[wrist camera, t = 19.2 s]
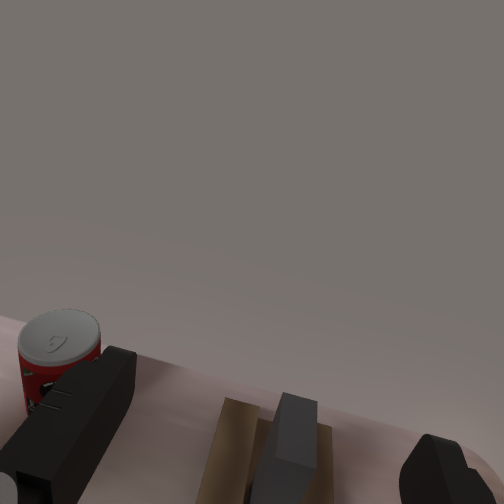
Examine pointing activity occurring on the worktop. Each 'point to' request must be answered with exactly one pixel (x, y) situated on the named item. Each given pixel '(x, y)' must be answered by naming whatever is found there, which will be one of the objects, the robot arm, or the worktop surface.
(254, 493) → the grey rectangular block
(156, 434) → the worktop surface
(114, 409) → the robot arm
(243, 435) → the brown grooved block
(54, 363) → the canned food
